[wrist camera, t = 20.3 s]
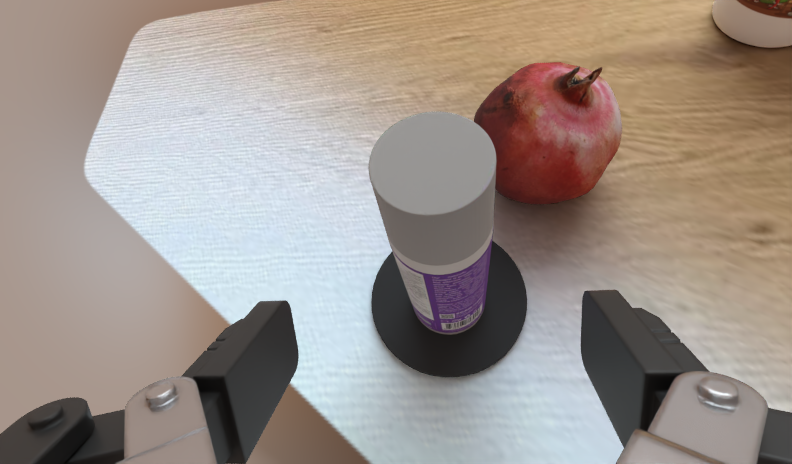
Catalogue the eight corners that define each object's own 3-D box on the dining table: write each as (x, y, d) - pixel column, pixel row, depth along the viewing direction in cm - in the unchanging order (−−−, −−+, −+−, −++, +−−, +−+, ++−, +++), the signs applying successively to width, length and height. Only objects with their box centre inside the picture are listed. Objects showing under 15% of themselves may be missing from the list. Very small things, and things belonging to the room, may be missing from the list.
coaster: (451, 205, 32) (451, 202, 32) (560, 303, 28) (561, 301, 27) (343, 293, 30) (342, 291, 30) (441, 414, 26) (441, 413, 25)
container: (490, 271, 29) (508, 113, 16) (479, 341, 27) (490, 228, 14) (420, 260, 30) (382, 103, 17) (405, 327, 28) (349, 209, 15)
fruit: (447, 172, 33) (439, 70, 25) (534, 102, 35) (555, -17, 26) (540, 251, 29) (571, 163, 21) (633, 167, 31) (697, 53, 22)
